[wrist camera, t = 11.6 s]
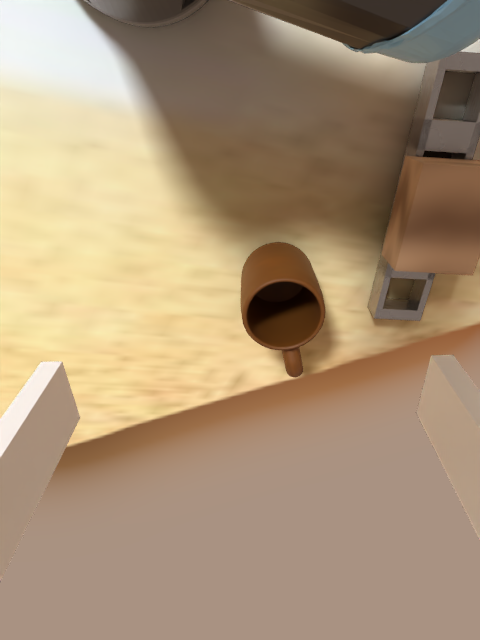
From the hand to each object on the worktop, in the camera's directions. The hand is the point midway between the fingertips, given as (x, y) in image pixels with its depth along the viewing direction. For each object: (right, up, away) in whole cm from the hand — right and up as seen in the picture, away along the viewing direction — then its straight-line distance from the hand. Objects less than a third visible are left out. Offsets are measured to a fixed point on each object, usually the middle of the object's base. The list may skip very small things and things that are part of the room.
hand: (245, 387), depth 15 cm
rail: (+17, +14, +25) cm, 34 cm away
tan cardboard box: (+17, +14, +25) cm, 34 cm away
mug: (+4, +6, +30) cm, 31 cm away
